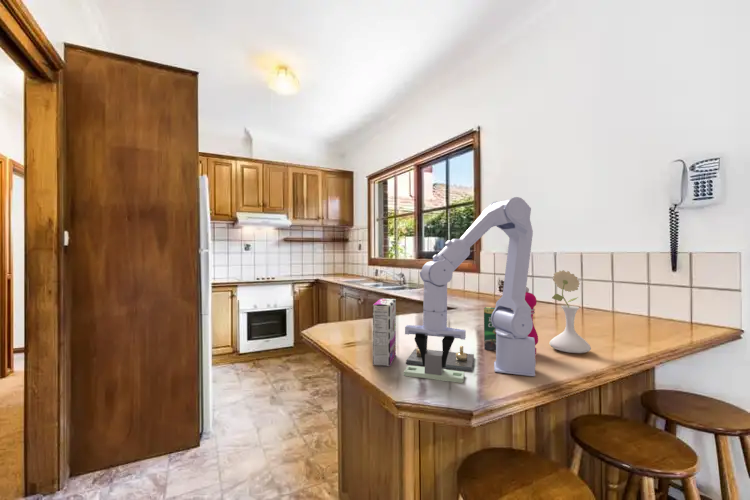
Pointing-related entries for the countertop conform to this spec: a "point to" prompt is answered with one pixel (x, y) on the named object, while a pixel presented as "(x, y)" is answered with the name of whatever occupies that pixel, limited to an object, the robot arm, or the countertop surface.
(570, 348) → the flower in vase
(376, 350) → the candy bar box
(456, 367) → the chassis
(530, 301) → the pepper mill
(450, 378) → the board
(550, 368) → the countertop surface
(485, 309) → the coffee box
